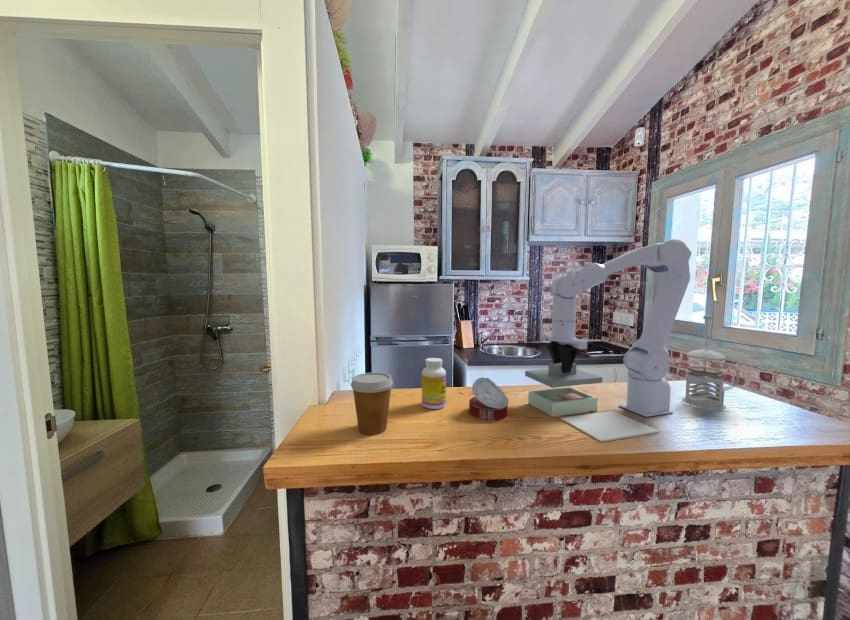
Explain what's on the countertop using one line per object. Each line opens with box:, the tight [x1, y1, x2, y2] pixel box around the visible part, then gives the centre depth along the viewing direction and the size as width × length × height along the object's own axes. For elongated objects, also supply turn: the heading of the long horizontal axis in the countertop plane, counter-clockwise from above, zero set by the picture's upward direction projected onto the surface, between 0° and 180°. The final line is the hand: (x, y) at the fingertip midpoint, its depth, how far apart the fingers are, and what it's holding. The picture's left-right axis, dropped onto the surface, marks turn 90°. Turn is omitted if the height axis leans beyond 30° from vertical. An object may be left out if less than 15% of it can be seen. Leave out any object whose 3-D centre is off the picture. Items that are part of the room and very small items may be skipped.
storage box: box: [527, 386, 598, 418], centre depth 85 cm, size 14×10×4 cm
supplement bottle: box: [421, 357, 447, 410], centre depth 86 cm, size 7×7×13 cm
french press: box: [681, 314, 740, 411], centre depth 86 cm, size 10×12×25 cm
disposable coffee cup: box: [350, 372, 394, 436], centre depth 71 cm, size 10×10×12 cm
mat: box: [560, 410, 660, 443], centre depth 73 cm, size 16×12×1 cm
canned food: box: [468, 377, 509, 422], centre depth 81 cm, size 11×10×10 cm
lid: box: [524, 362, 603, 389], centre depth 84 cm, size 15×11×4 cm
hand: (562, 371), depth 84 cm, fingers closed on lid, 2 cm apart
